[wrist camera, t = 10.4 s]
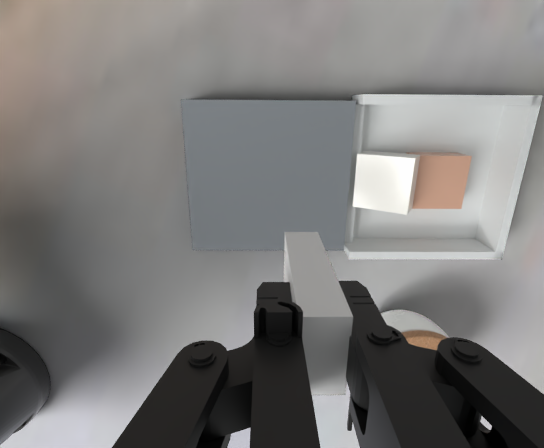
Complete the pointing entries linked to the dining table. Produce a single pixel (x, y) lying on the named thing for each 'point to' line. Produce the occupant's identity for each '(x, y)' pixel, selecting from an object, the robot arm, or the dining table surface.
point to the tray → (444, 138)
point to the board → (267, 171)
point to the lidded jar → (415, 328)
